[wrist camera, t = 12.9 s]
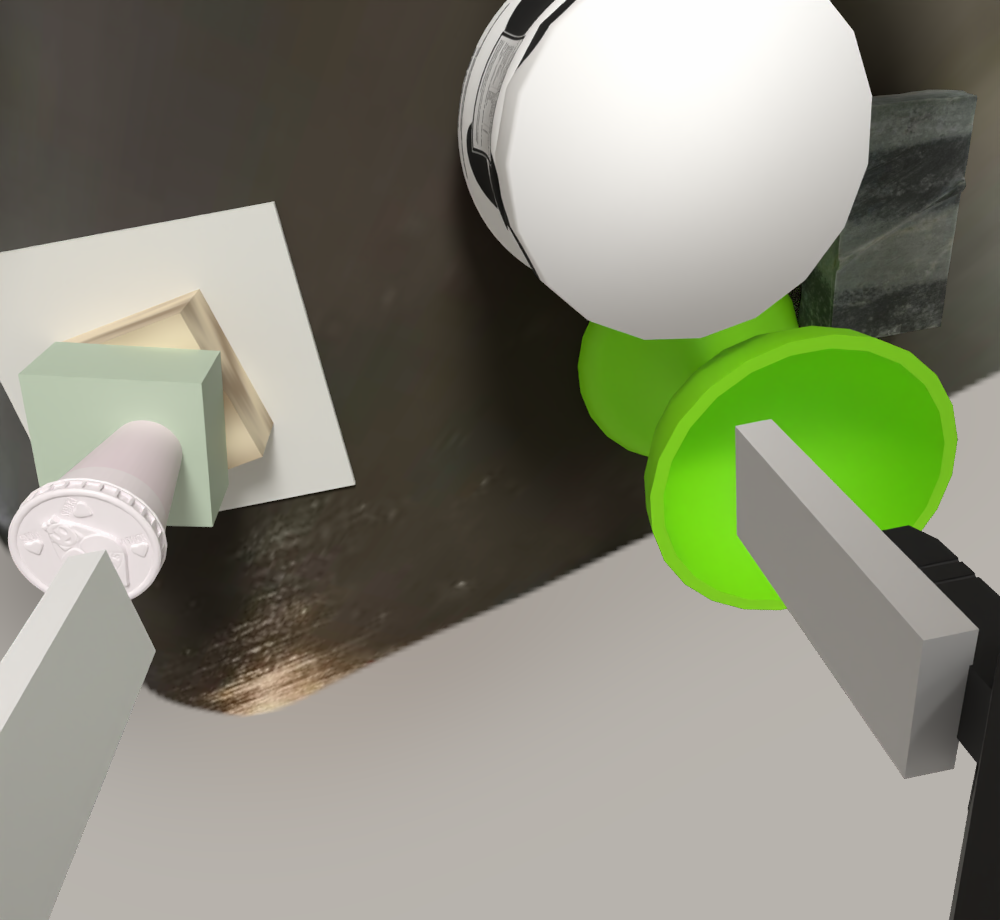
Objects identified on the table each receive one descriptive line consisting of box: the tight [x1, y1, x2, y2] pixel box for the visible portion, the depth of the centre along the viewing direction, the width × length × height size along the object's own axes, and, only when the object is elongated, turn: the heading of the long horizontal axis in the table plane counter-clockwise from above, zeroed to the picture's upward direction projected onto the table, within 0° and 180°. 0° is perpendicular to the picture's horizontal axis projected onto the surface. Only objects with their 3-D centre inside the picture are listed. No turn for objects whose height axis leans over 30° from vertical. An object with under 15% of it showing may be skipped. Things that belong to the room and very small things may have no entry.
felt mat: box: [0, 201, 355, 511], centre depth 52 cm, size 20×20×1 cm
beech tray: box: [62, 289, 273, 469], centre depth 49 cm, size 10×10×5 cm
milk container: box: [458, 0, 872, 340], centre depth 40 cm, size 17×17×18 cm
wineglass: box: [578, 294, 958, 610], centre depth 48 cm, size 16×16×18 cm
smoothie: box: [8, 420, 182, 600], centre depth 37 cm, size 6×6×14 cm
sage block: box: [18, 342, 229, 527], centre depth 45 cm, size 9×9×5 cm
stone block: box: [798, 90, 977, 338], centre depth 50 cm, size 9×14×5 cm, turn 5°
